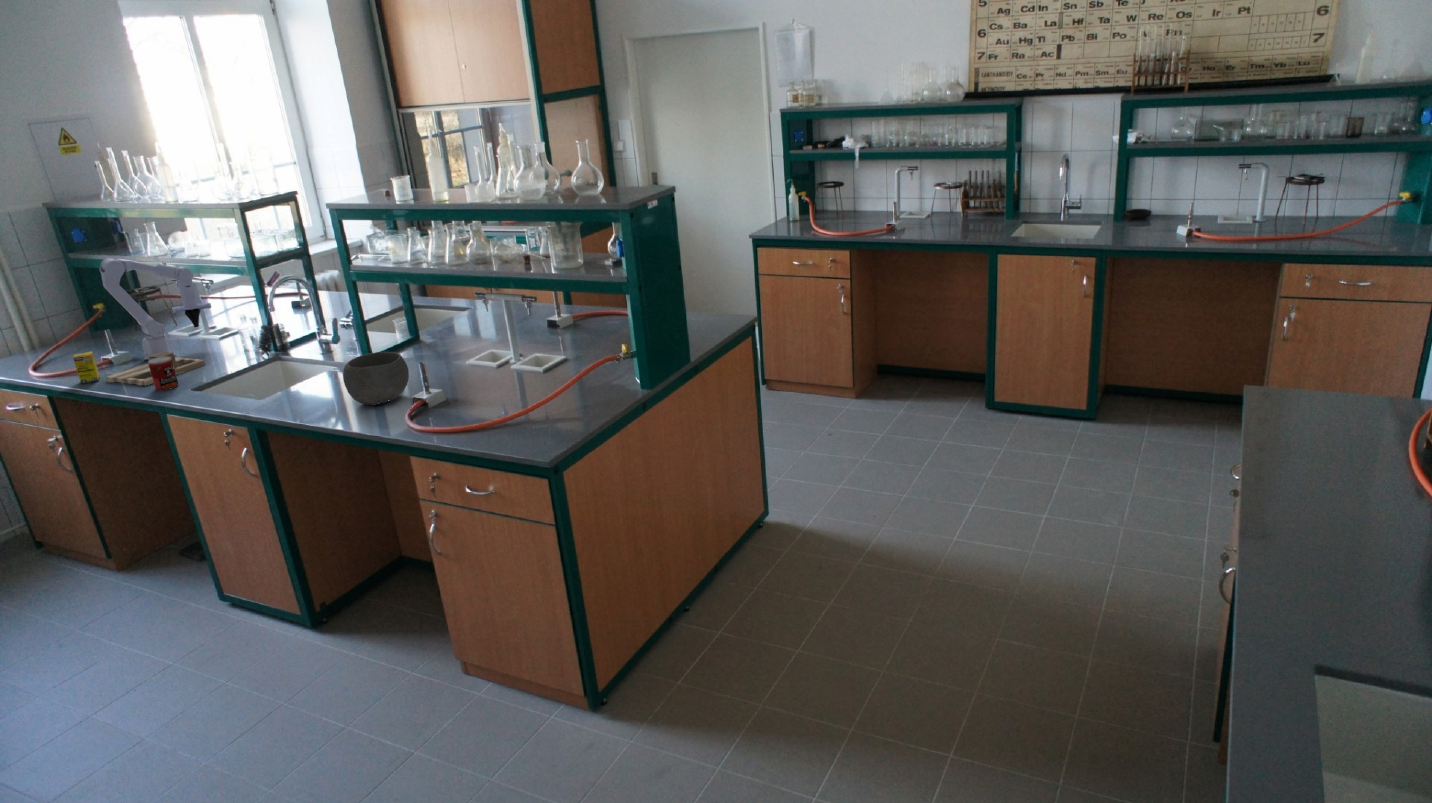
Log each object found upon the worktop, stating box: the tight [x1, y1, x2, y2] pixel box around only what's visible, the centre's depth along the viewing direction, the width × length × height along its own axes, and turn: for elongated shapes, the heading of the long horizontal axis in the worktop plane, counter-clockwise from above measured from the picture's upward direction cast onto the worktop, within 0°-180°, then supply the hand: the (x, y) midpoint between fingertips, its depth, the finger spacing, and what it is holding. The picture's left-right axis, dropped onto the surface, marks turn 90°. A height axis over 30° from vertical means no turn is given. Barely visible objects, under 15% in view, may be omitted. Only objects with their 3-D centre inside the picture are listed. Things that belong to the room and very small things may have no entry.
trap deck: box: [105, 356, 206, 386], centre depth 365 cm, size 22×26×2 cm
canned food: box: [147, 356, 179, 391], centre depth 346 cm, size 8×8×11 cm
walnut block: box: [149, 351, 177, 368], centre depth 362 cm, size 6×6×6 cm
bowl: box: [342, 351, 410, 406], centre depth 316 cm, size 21×21×15 cm
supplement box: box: [72, 351, 101, 385], centre depth 359 cm, size 6×6×11 cm
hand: (196, 326), depth 394 cm, fingers closed
